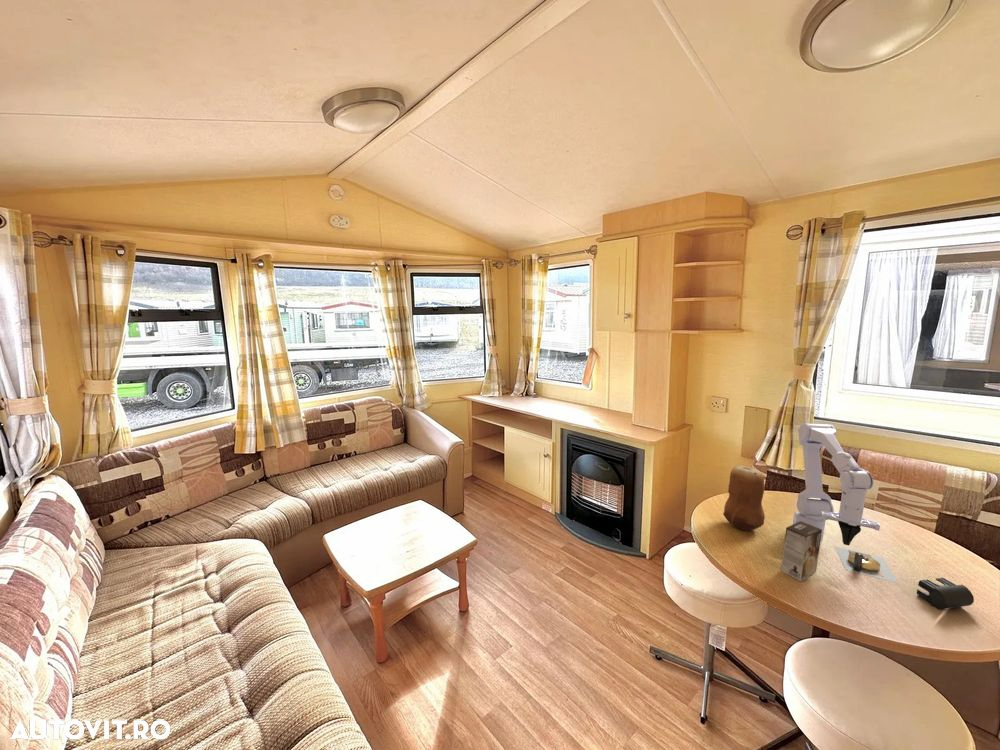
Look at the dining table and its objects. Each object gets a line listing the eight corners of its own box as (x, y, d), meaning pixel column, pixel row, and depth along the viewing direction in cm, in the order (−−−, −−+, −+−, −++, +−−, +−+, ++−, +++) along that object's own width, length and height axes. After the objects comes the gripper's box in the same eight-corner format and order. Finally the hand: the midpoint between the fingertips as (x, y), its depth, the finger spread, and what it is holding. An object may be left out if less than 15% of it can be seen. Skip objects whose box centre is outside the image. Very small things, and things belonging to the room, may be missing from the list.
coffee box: (795, 562, 137) (800, 520, 134) (816, 573, 132) (823, 529, 129) (779, 571, 133) (785, 527, 130) (801, 582, 127) (808, 536, 125)
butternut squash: (751, 519, 165) (757, 462, 161) (769, 537, 152) (777, 476, 148) (716, 517, 166) (722, 461, 162) (732, 536, 153) (738, 475, 149)
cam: (853, 553, 140) (856, 539, 139) (883, 566, 133) (886, 551, 132) (840, 563, 135) (842, 548, 134) (871, 577, 128) (873, 561, 127)
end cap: (942, 616, 114) (947, 595, 113) (914, 598, 121) (918, 578, 119) (971, 612, 115) (976, 591, 114) (941, 595, 122) (946, 575, 121)
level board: (844, 572, 132) (845, 569, 132) (834, 548, 145) (835, 545, 145) (897, 586, 126) (898, 582, 126) (882, 559, 139) (883, 556, 138)
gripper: (826, 505, 130) (820, 543, 133) (885, 516, 123) (878, 556, 125) (822, 496, 136) (816, 532, 139) (878, 507, 129) (871, 545, 131)
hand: (845, 543), depth 132 cm, fingers closed
